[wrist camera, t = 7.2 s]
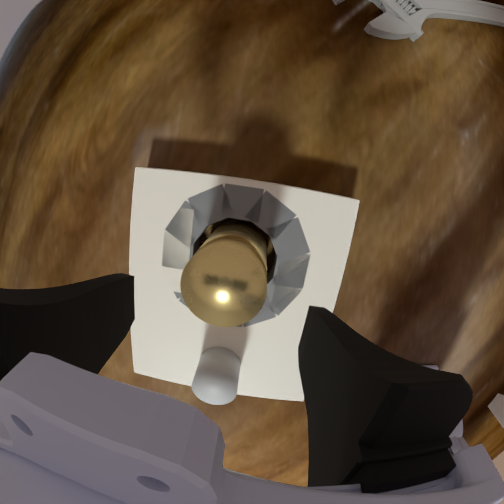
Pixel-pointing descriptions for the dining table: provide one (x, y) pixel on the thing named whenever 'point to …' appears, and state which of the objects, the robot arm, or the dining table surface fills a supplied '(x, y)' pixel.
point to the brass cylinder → (227, 275)
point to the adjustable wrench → (427, 15)
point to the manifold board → (278, 280)
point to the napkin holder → (498, 408)
